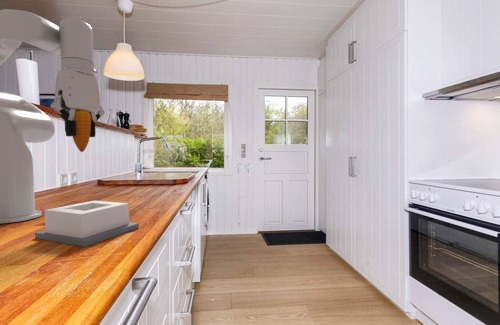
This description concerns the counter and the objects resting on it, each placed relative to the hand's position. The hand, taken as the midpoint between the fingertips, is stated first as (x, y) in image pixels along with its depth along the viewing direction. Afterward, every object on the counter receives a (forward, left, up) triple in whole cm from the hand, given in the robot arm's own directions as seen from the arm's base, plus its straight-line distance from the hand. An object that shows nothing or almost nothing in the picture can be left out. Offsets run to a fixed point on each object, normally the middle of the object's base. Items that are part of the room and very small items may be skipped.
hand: (81, 135), depth 74 cm
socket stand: (+12, -8, -23) cm, 27 cm away
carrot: (0, 0, -5) cm, 5 cm away
